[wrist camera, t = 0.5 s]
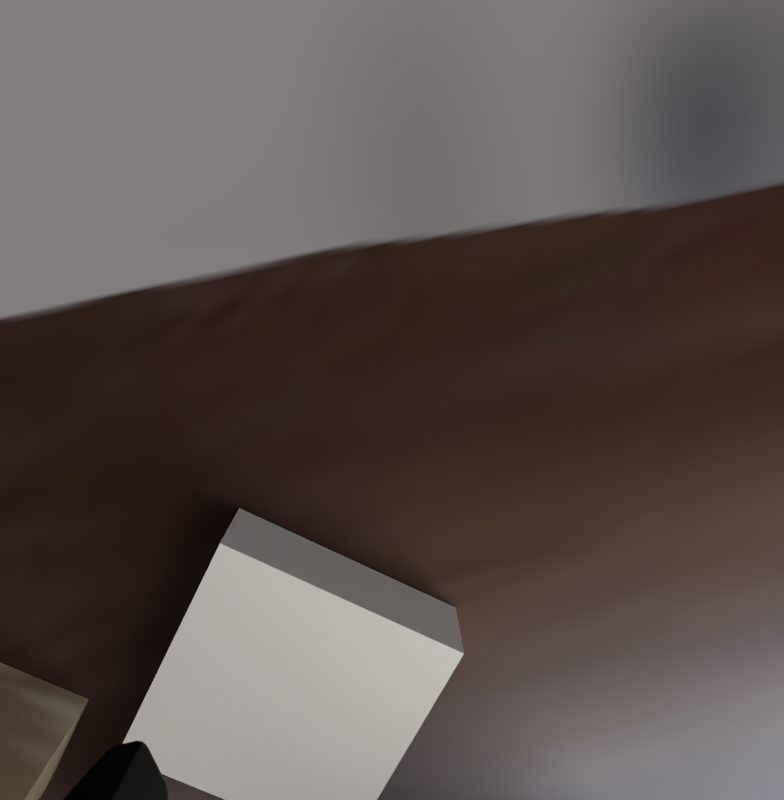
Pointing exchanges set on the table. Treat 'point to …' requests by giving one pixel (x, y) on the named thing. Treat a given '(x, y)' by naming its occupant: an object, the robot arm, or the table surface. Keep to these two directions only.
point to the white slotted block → (295, 673)
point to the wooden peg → (33, 731)
